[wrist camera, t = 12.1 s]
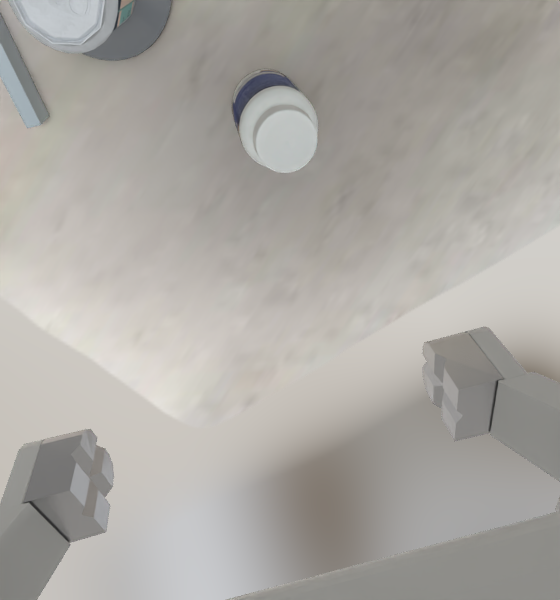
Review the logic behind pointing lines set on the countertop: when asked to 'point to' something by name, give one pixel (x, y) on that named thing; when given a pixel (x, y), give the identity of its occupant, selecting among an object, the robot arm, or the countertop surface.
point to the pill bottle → (275, 121)
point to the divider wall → (19, 81)
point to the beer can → (72, 21)
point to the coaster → (135, 31)
